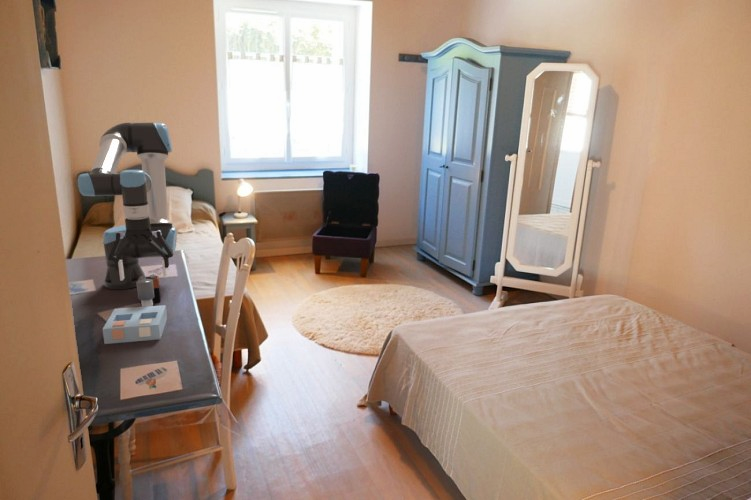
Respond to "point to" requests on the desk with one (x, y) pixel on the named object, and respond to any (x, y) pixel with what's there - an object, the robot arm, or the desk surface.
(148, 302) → the grey piece
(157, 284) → the battery
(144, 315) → the socket board
